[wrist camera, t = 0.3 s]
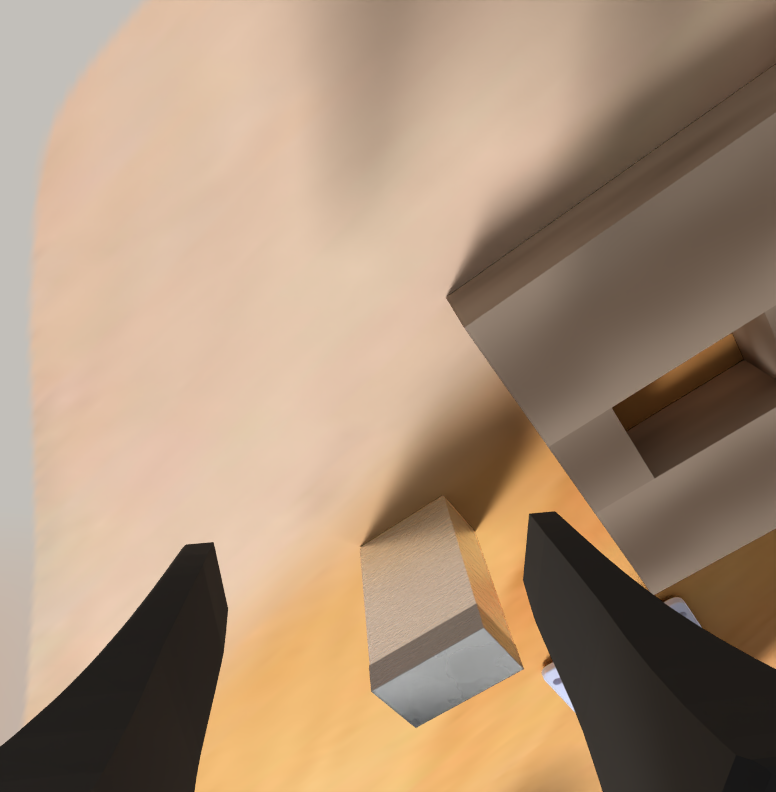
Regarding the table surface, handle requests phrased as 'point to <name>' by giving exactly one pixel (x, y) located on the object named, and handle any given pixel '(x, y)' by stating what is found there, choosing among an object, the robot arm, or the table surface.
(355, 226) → the table surface
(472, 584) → the brushed metal block
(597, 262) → the post foot
